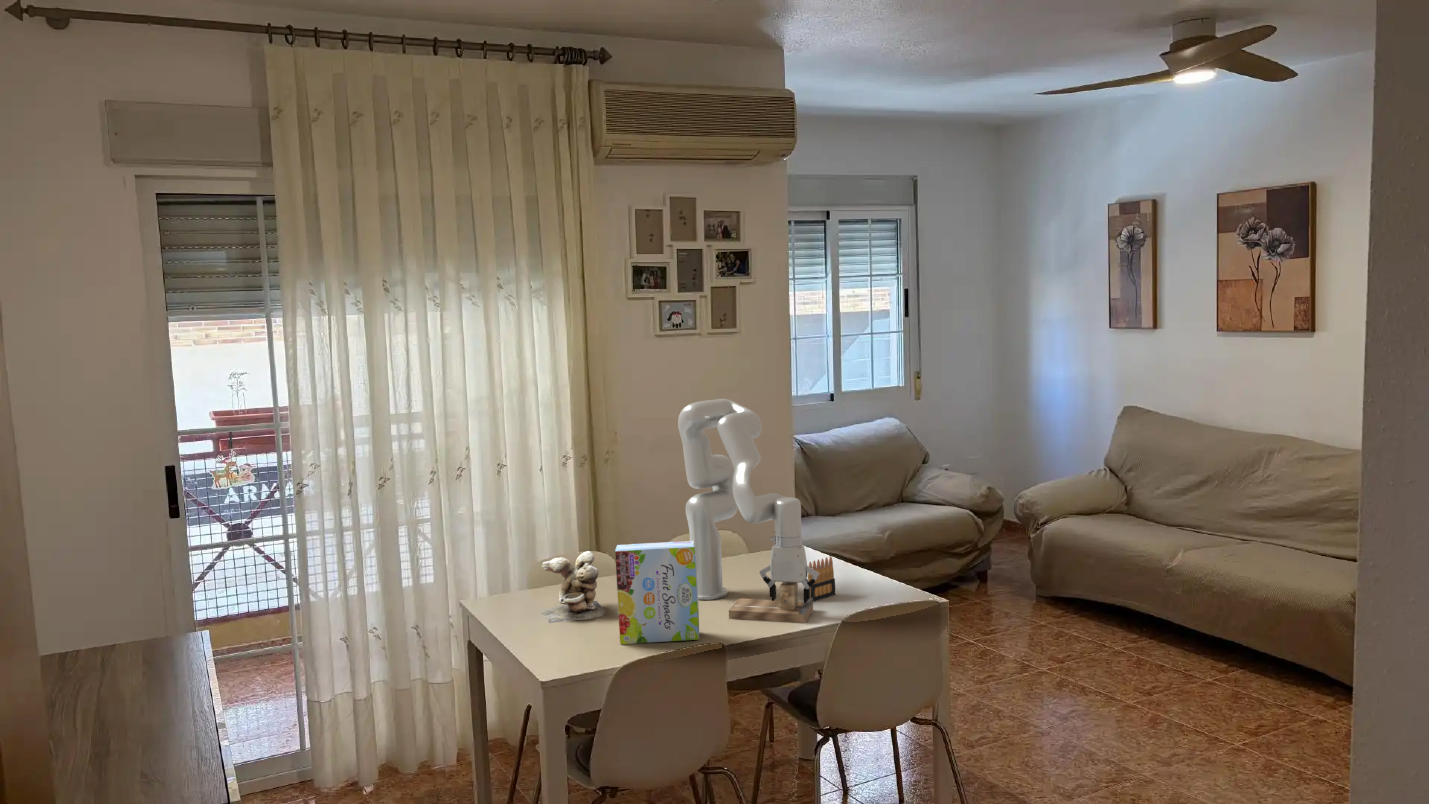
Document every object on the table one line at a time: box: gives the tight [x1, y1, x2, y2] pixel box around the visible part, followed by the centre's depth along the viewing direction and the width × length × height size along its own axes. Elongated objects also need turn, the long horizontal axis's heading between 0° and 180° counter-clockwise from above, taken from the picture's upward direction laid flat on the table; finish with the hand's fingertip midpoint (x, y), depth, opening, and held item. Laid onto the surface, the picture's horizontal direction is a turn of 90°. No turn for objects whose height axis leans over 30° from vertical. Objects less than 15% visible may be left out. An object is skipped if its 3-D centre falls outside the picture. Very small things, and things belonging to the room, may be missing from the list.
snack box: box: [614, 540, 700, 645], centre depth 288 cm, size 22×9×26 cm, turn 93°
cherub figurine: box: [540, 550, 606, 624], centre depth 314 cm, size 18×18×18 cm
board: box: [728, 597, 814, 624], centre depth 307 cm, size 22×12×4 cm, turn 74°
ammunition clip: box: [807, 556, 837, 602], centre depth 321 cm, size 11×2×12 cm, turn 131°
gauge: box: [779, 582, 799, 610], centre depth 304 cm, size 4×11×7 cm, turn 164°
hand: (789, 600), depth 305 cm, fingers open, 9 cm apart
